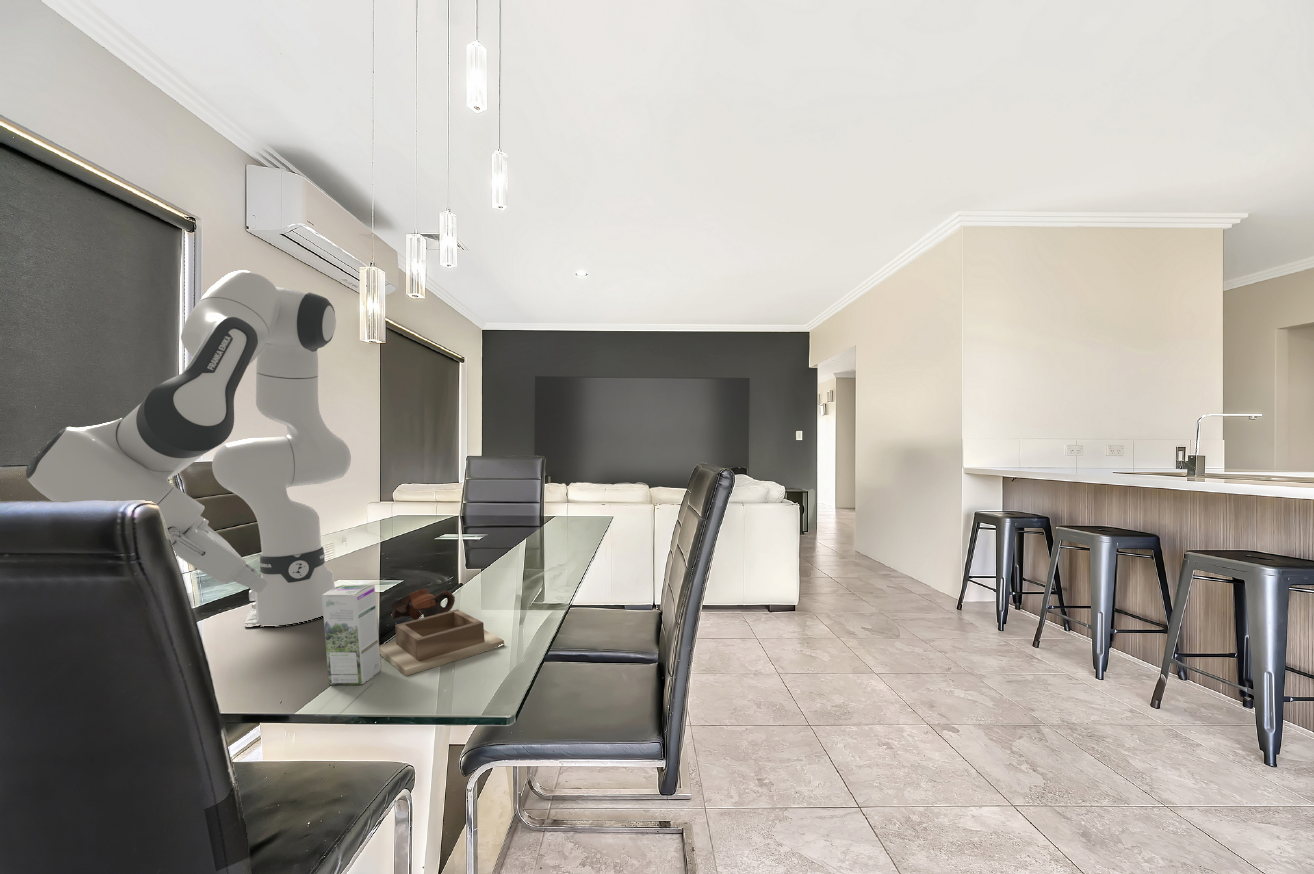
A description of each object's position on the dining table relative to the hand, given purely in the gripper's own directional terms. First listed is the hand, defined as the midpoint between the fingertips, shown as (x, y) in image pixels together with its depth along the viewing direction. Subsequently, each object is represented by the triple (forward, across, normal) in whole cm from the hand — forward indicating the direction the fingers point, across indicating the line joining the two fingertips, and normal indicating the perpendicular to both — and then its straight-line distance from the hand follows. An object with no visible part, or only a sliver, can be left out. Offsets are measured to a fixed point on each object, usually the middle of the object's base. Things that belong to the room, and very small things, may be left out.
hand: (258, 581), depth 89 cm
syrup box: (+21, 0, +4) cm, 22 cm away
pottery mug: (+34, +18, -8) cm, 39 cm away
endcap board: (+32, +2, -6) cm, 32 cm away
